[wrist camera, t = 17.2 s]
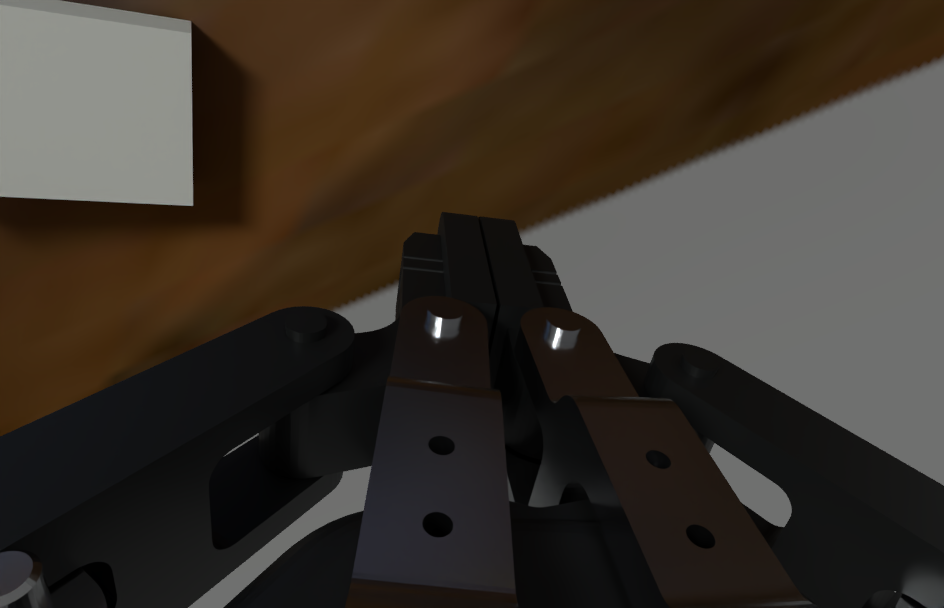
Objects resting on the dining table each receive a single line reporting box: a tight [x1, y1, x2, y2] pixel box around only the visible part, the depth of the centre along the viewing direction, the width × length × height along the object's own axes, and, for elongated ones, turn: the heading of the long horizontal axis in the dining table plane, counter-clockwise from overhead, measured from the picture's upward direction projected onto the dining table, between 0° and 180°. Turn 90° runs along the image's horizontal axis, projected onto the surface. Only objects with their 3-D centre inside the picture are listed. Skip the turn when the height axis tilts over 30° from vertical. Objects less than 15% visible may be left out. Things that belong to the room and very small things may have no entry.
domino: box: [0, 0, 193, 206], centre depth 16 cm, size 2×5×9 cm
